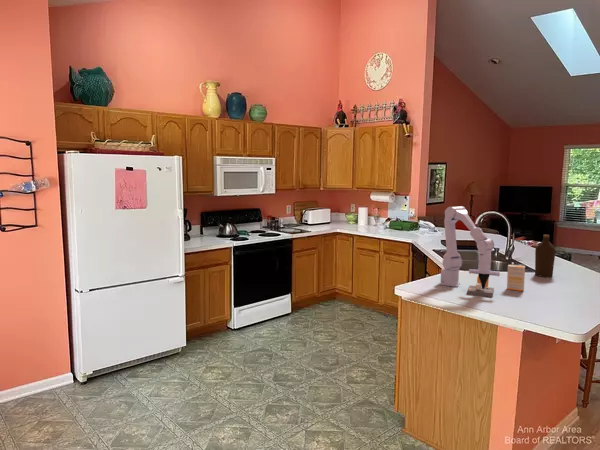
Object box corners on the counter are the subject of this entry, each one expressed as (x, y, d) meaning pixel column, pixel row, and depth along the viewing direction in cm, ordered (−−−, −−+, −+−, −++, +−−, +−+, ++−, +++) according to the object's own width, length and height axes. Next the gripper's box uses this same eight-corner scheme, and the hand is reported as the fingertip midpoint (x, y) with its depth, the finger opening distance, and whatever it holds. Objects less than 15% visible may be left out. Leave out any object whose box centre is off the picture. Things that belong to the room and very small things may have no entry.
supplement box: (524, 289, 232) (525, 265, 231) (523, 291, 228) (525, 267, 226) (507, 287, 236) (508, 264, 235) (506, 289, 232) (507, 265, 231)
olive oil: (549, 278, 256) (552, 236, 253) (530, 275, 264) (533, 234, 261) (556, 275, 263) (559, 235, 260) (538, 272, 271) (540, 233, 268)
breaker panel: (467, 294, 224) (467, 289, 223) (469, 289, 233) (469, 284, 233) (492, 297, 218) (492, 292, 218) (493, 291, 228) (494, 286, 228)
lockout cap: (476, 287, 236) (477, 277, 235) (477, 285, 240) (478, 275, 240) (487, 289, 233) (488, 278, 232) (488, 286, 238) (488, 276, 237)
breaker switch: (475, 289, 224) (475, 284, 224) (476, 288, 226) (476, 283, 226) (480, 289, 223) (480, 284, 223) (481, 288, 225) (481, 283, 225)
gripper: (468, 262, 222) (467, 288, 223) (499, 265, 215) (498, 291, 217) (470, 260, 228) (468, 285, 229) (500, 262, 221) (498, 288, 223)
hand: (483, 288), depth 223 cm, fingers closed
